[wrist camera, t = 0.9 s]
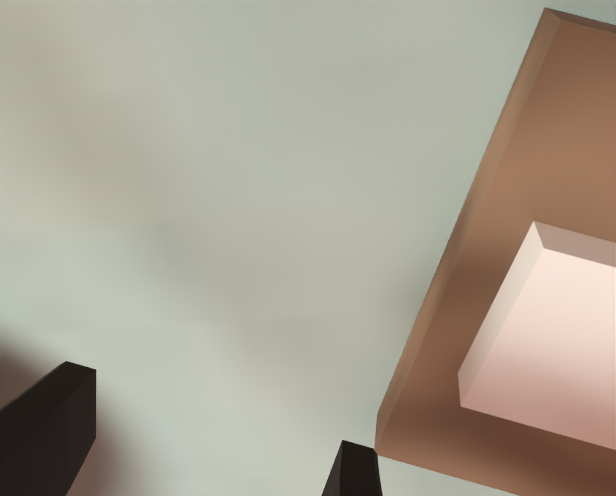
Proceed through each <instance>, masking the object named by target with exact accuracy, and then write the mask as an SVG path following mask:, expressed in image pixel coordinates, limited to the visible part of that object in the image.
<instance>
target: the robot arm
mask: <svg viewBox="0 0 616 496" xmlns="http://www.w3.org/2000/svg"><path fill="white" fill-rule="evenodd" d="M95 438H96V369H92V368H89V367H85V366H82V365H78V364H75V363H71V362H68V361H66V362H64V363H62V364H60V365H59V366H58V367H56V368H55V369H54V370H52V371H51V372H50V373H48V374H47V375H46V376H44V377H43V378H42V379H40V380H39V381H38V382H36V383H35V384H34V385H32V386H31V387H30V388H28V389H27V390H25V391H24V392H23V393H21V394H20V395H19V396H17V397H16V398H15V399H13V400H12V401H10V402H9V403H8V404H6V405H5V406H4V407H2V408H1V409H0V496H65V495H66V494H67V492H68V490H69V489H70V487H71V485H72V483H73V482H74V480H75V478H76V476H77V474H78V472H79V470H80V468H81V466H82V464H83V462H84V460H85V458H86V456H87V454H88V452H89V450H90V448H91V446H92V444H93V442H94V440H95ZM322 496H383V495H382V489H381V483H380V475H379V468H378V458H377V453H376V452H375V450H374V449H373V448H369V447H366V446H362V445H359V444H355V443H352V442H348V441H345V440H342V443H341V445H340V448H339V451H338V453H337V456H336V458H335V461H334V464H333V466H332V469H331V472H330V474H329V477H328V480H327V482H326V485H325V488H324V490H323V493H322Z"/></svg>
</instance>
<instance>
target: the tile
mask: <svg viewBox="0 0 616 496" xmlns="http://www.w3.org/2000/svg"><path fill="white" fill-rule="evenodd" d="M458 381H459V393H460V404H461V407H464V408H468V409H472V410H475V411H479V412H482V413H486V414H489V415H493V416H496V417H500V418H504V419H507V420H511V421H514V422H518V423H521V424H525V425H529V426H532V427H536V428H539V429H543V430H546V431H550V432H553V433H557V434H561V435H564V436H568V437H571V438H575V439H578V440H582V441H585V442H589V443H593V444H596V445H600V446H603V447H607V448H610V449H614V450H616V243H614V242H610V241H607V240H603V239H599V238H596V237H592V236H588V235H584V234H581V233H577V232H573V231H569V230H566V229H562V228H558V227H555V226H551V225H547V224H543V223H540V222H536V221H533V223H532V225H531V227H530V229H529V231H528V233H527V235H526V237H525V239H524V241H523V243H522V245H521V247H520V249H519V251H518V253H517V255H516V257H515V259H514V261H513V263H512V265H511V267H510V269H509V271H508V273H507V275H506V277H505V279H504V281H503V283H502V285H501V287H500V289H499V291H498V293H497V295H496V297H495V299H494V301H493V303H492V305H491V307H490V309H489V311H488V313H487V315H486V317H485V319H484V321H483V323H482V325H481V327H480V329H479V331H478V333H477V335H476V337H475V339H474V341H473V343H472V345H471V347H470V349H469V351H468V353H467V355H466V357H465V359H464V361H463V363H462V365H461V368H460V370H459V372H458Z"/></svg>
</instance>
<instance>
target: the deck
mask: <svg viewBox="0 0 616 496" xmlns="http://www.w3.org/2000/svg"><path fill="white" fill-rule="evenodd" d="M533 221H536V222H540V223H543V224H547V225H551V226H555V227H558V228H562V229H566V230H569V231H573V232H577V233H581V234H584V235H588V236H592V237H596V238H599V239H603V240H607V241H610V242H614V243H616V25H612V24H608V23H604V22H600V21H596V20H592V19H588V18H584V17H580V16H577V15H573V14H569V13H565V12H561V11H557V10H553V9H549V8H544V11H543V13H542V16H541V18H540V20H539V23H538V25H537V28H536V30H535V33H534V35H533V37H532V40H531V42H530V45H529V47H528V50H527V52H526V54H525V57H524V59H523V62H522V64H521V67H520V69H519V71H518V74H517V76H516V79H515V81H514V84H513V86H512V88H511V91H510V93H509V96H508V98H507V101H506V103H505V105H504V108H503V110H502V113H501V115H500V118H499V120H498V122H497V125H496V127H495V130H494V132H493V135H492V137H491V139H490V142H489V144H488V147H487V149H486V152H485V154H484V156H483V159H482V161H481V164H480V166H479V169H478V171H477V173H476V176H475V178H474V181H473V183H472V186H471V188H470V190H469V193H468V195H467V198H466V200H465V203H464V205H463V207H462V210H461V212H460V215H459V217H458V220H457V222H456V224H455V227H454V229H453V232H452V234H451V237H450V239H449V241H448V244H447V246H446V249H445V251H444V254H443V256H442V258H441V261H440V263H439V266H438V268H437V271H436V273H435V275H434V278H433V280H432V283H431V285H430V288H429V290H428V292H427V295H426V297H425V300H424V302H423V305H422V307H421V309H420V312H419V314H418V317H417V319H416V322H415V324H414V326H413V329H412V331H411V334H410V336H409V339H408V341H407V343H406V346H405V348H404V351H403V353H402V356H401V358H400V360H399V363H398V365H397V368H396V370H395V373H394V375H393V377H392V380H391V382H390V385H389V387H388V390H387V392H386V394H385V397H384V399H383V402H382V404H381V407H380V409H379V411H378V414H377V424H376V436H375V448H374V450H375V452H376V453H377V455H379V456H383V457H386V458H390V459H393V460H397V461H400V462H404V463H407V464H411V465H414V466H418V467H421V468H425V469H428V470H432V471H435V472H439V473H442V474H446V475H449V476H453V477H456V478H460V479H463V480H467V481H470V482H474V483H477V484H481V485H485V486H488V487H492V488H495V489H499V490H502V491H506V492H509V493H513V494H516V495H520V496H616V450H614V449H610V448H607V447H603V446H600V445H596V444H593V443H589V442H585V441H582V440H578V439H575V438H571V437H568V436H564V435H561V434H557V433H553V432H550V431H546V430H543V429H539V428H536V427H532V426H529V425H525V424H521V423H518V422H514V421H511V420H507V419H504V418H500V417H496V416H493V415H489V414H486V413H482V412H479V411H475V410H472V409H468V408H464V407H461V404H460V393H459V381H458V372H459V370H460V368H461V365H462V363H463V361H464V359H465V357H466V355H467V353H468V351H469V349H470V347H471V345H472V343H473V341H474V339H475V337H476V335H477V333H478V331H479V329H480V327H481V325H482V323H483V321H484V319H485V317H486V315H487V313H488V311H489V309H490V307H491V305H492V303H493V301H494V299H495V297H496V295H497V293H498V291H499V289H500V287H501V285H502V283H503V281H504V279H505V277H506V275H507V273H508V271H509V269H510V267H511V265H512V263H513V261H514V259H515V257H516V255H517V253H518V251H519V249H520V247H521V245H522V243H523V241H524V239H525V237H526V235H527V233H528V231H529V229H530V227H531V225H532V223H533Z"/></svg>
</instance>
